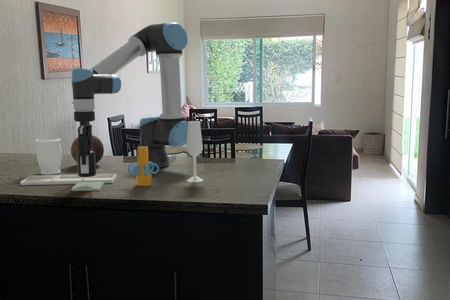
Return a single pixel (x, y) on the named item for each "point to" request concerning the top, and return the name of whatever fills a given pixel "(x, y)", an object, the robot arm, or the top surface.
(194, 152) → the champagne flute
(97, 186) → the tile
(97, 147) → the wooden sphere
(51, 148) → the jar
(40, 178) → the tray
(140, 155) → the orange and blue toy
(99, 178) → the tray
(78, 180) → the tray middle
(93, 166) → the supplement bottle
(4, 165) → the top surface
